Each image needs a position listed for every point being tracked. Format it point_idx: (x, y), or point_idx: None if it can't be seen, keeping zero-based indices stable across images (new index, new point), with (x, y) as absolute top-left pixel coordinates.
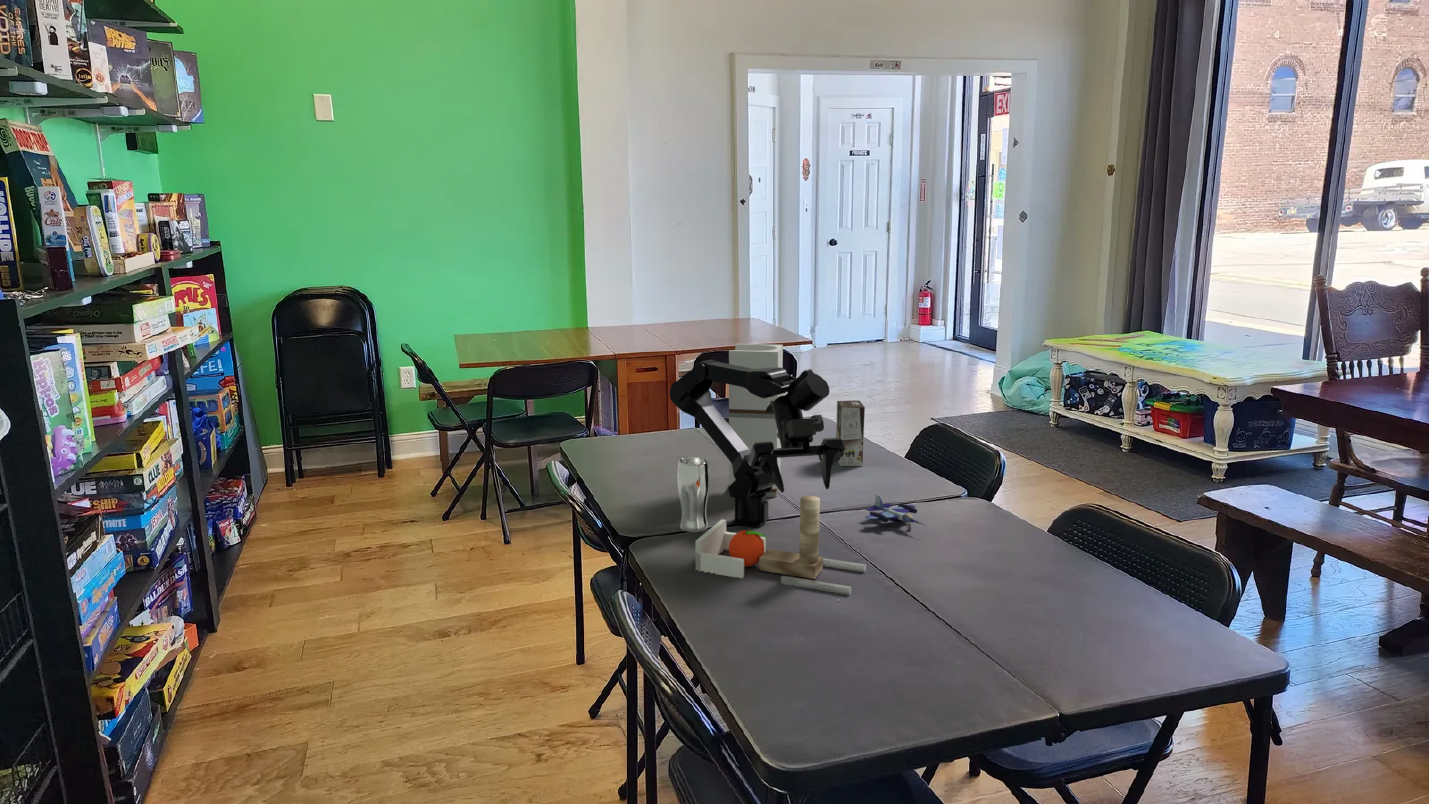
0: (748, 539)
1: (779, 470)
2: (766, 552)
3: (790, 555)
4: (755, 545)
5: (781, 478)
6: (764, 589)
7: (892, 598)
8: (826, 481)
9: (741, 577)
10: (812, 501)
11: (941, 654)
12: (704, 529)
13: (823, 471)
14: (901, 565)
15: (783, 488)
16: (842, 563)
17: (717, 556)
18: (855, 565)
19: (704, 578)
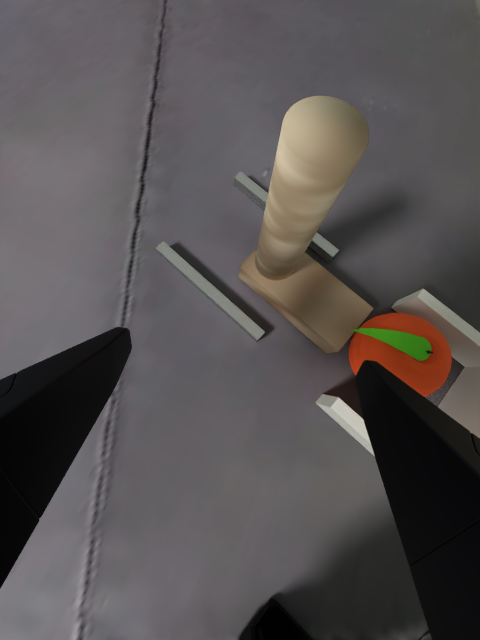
0: (421, 322)
1: (456, 455)
2: (349, 331)
3: (303, 296)
4: (395, 315)
5: (407, 403)
6: (369, 245)
7: (181, 150)
8: (113, 341)
9: (398, 300)
10: (329, 100)
11: (215, 19)
12: (425, 637)
13: (51, 446)
14: (80, 252)
15: (373, 362)
16: (195, 271)
17: (472, 330)
18: (176, 253)
19: None
